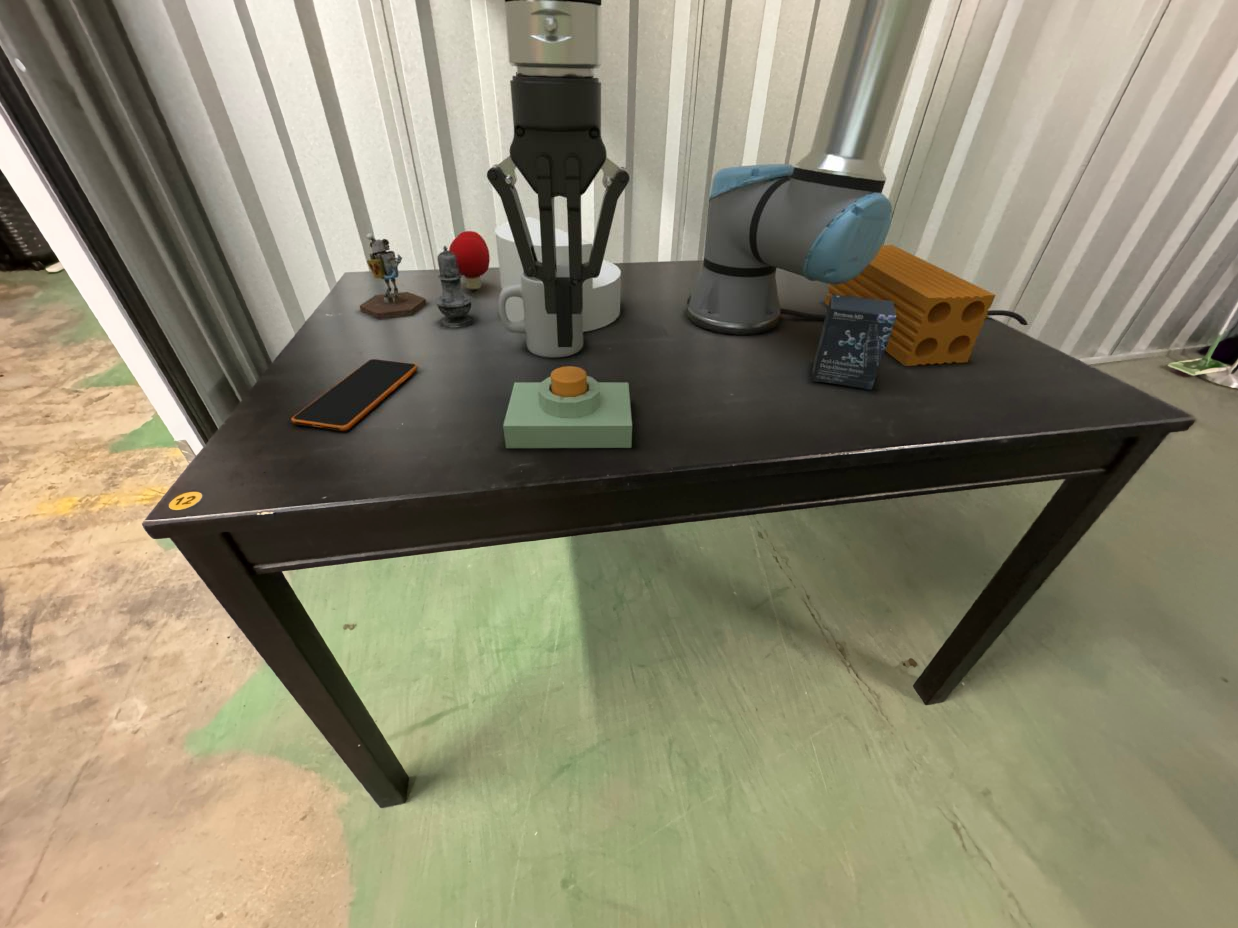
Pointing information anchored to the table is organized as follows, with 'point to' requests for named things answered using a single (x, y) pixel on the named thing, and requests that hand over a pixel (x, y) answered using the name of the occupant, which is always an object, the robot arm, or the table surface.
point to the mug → (539, 318)
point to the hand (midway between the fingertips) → (565, 341)
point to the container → (597, 292)
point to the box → (853, 341)
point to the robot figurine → (386, 269)
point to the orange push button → (569, 381)
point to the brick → (922, 307)
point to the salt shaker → (452, 293)
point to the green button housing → (569, 417)
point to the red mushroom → (471, 257)
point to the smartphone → (355, 395)
